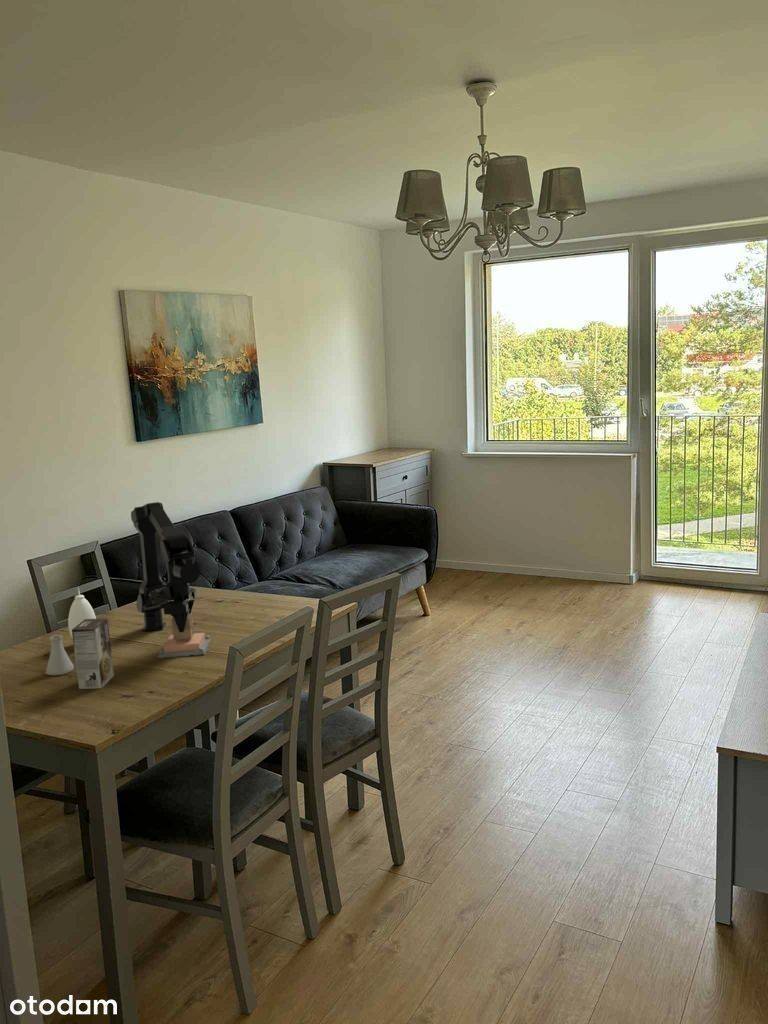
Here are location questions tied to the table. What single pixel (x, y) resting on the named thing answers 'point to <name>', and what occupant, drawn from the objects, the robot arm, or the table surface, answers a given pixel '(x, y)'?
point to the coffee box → (93, 653)
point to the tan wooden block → (187, 630)
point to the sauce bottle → (79, 612)
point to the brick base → (186, 653)
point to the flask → (58, 658)
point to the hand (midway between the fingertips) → (183, 629)
